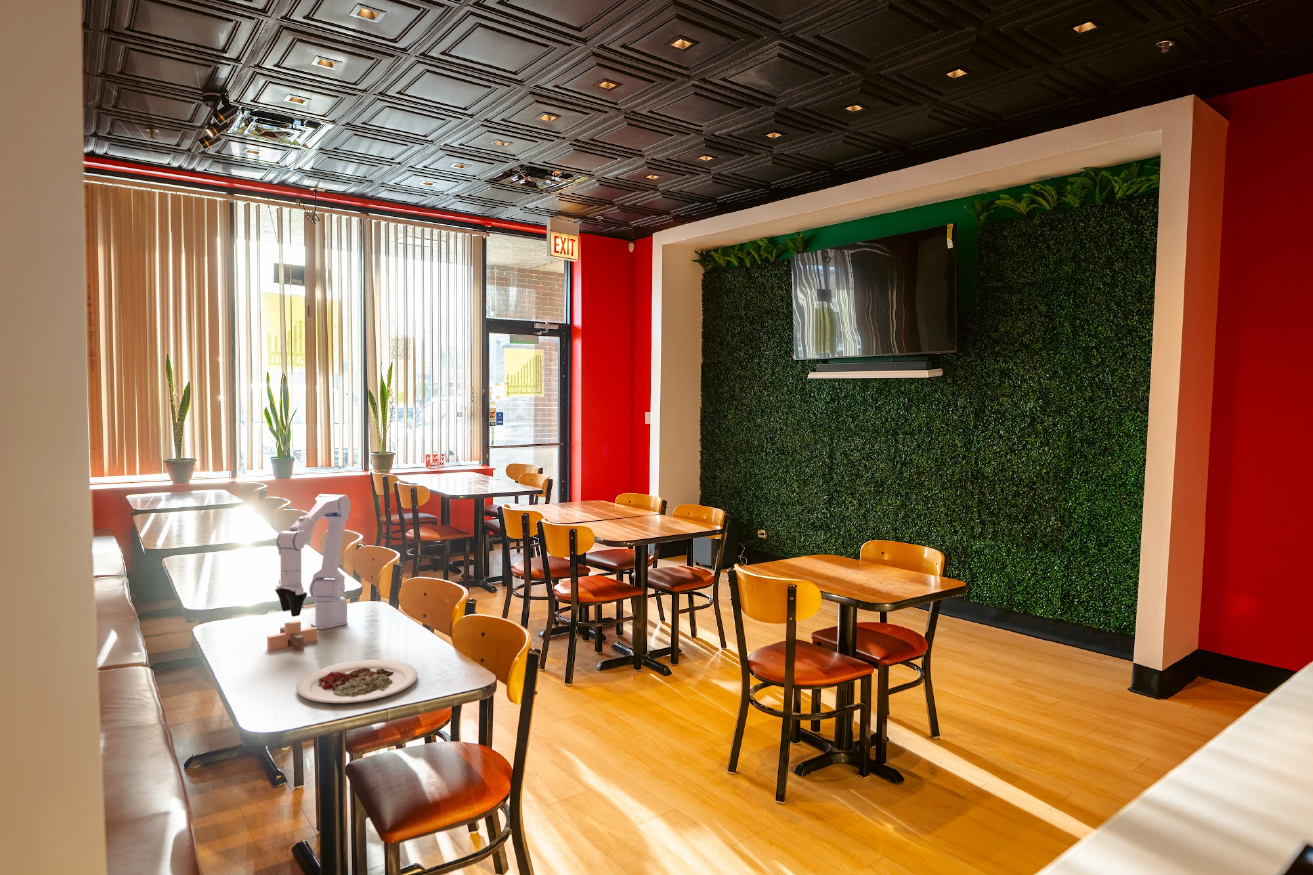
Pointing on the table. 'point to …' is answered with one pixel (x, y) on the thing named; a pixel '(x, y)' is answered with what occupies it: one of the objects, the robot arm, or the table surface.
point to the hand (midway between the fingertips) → (291, 613)
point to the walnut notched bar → (295, 640)
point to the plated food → (357, 681)
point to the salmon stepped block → (290, 628)
